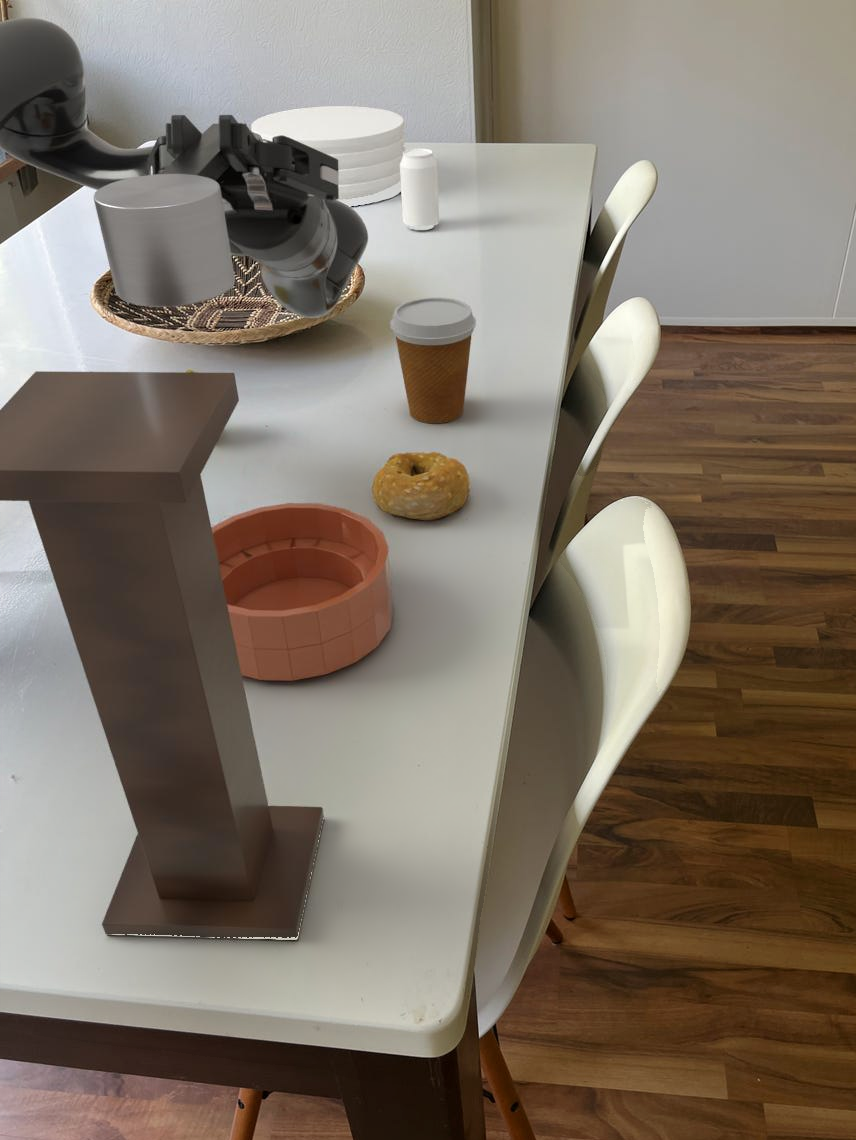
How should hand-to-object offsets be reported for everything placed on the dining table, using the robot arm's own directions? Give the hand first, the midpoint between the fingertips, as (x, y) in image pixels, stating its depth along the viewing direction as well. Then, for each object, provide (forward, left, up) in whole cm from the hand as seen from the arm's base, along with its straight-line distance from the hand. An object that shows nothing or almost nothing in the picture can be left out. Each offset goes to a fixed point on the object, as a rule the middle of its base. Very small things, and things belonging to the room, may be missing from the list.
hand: (200, 132), depth 60 cm
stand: (0, -23, -40) cm, 46 cm away
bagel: (+9, +25, -40) cm, 48 cm away
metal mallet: (0, -3, -6) cm, 6 cm away
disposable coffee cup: (+9, +45, -40) cm, 61 cm away
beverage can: (+1, +116, -40) cm, 123 cm away
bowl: (0, +4, -40) cm, 40 cm away
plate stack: (-18, +141, -40) cm, 148 cm away
